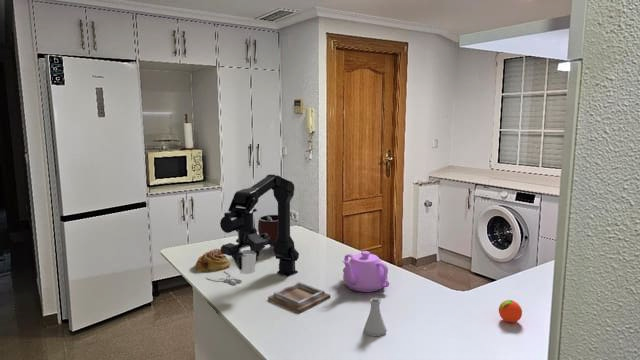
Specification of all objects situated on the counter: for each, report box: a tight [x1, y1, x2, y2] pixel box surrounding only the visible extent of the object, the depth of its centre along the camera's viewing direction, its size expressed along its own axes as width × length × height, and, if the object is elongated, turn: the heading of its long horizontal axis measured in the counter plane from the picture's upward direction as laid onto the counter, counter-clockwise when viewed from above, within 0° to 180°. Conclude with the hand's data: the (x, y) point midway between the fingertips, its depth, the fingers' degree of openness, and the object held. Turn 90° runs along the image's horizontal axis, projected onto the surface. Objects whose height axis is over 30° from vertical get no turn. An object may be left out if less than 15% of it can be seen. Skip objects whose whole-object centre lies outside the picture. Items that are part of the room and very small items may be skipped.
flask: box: [363, 298, 387, 337], centre depth 133 cm, size 7×7×10 cm
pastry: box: [194, 248, 231, 272], centre depth 191 cm, size 13×15×8 cm
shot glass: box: [239, 249, 257, 275], centre depth 158 cm, size 7×7×7 cm
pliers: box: [206, 270, 243, 286], centre depth 177 cm, size 10×2×15 cm
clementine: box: [498, 299, 523, 324], centre depth 138 cm, size 8×7×7 cm
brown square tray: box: [267, 281, 331, 314], centre depth 157 cm, size 16×16×3 cm
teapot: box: [342, 250, 390, 293], centre depth 166 cm, size 22×22×14 cm
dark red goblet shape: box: [257, 214, 278, 257], centre depth 208 cm, size 16×14×20 cm
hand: (247, 267), depth 158 cm, fingers closed on shot glass, 6 cm apart
